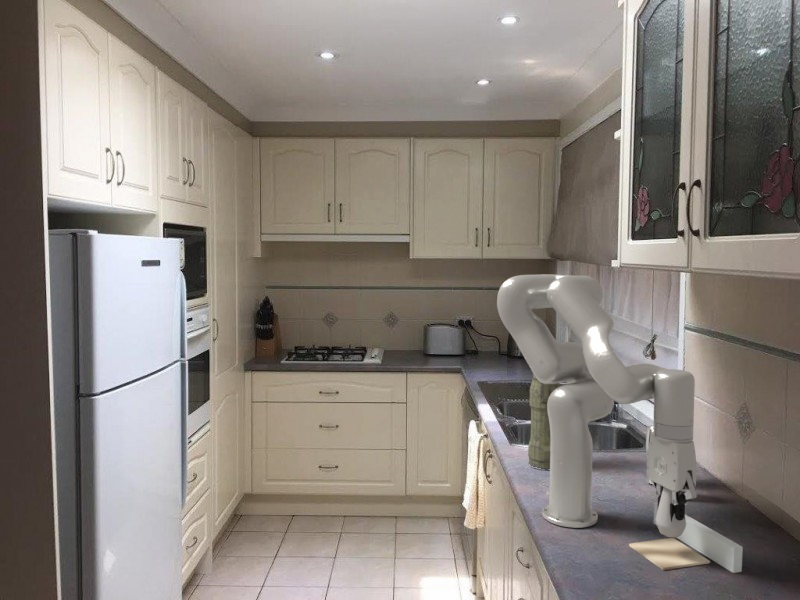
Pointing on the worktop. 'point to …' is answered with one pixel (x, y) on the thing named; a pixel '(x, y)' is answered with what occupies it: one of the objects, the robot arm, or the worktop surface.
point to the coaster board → (669, 553)
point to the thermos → (540, 424)
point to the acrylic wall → (710, 544)
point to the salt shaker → (668, 517)
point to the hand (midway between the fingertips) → (670, 518)
